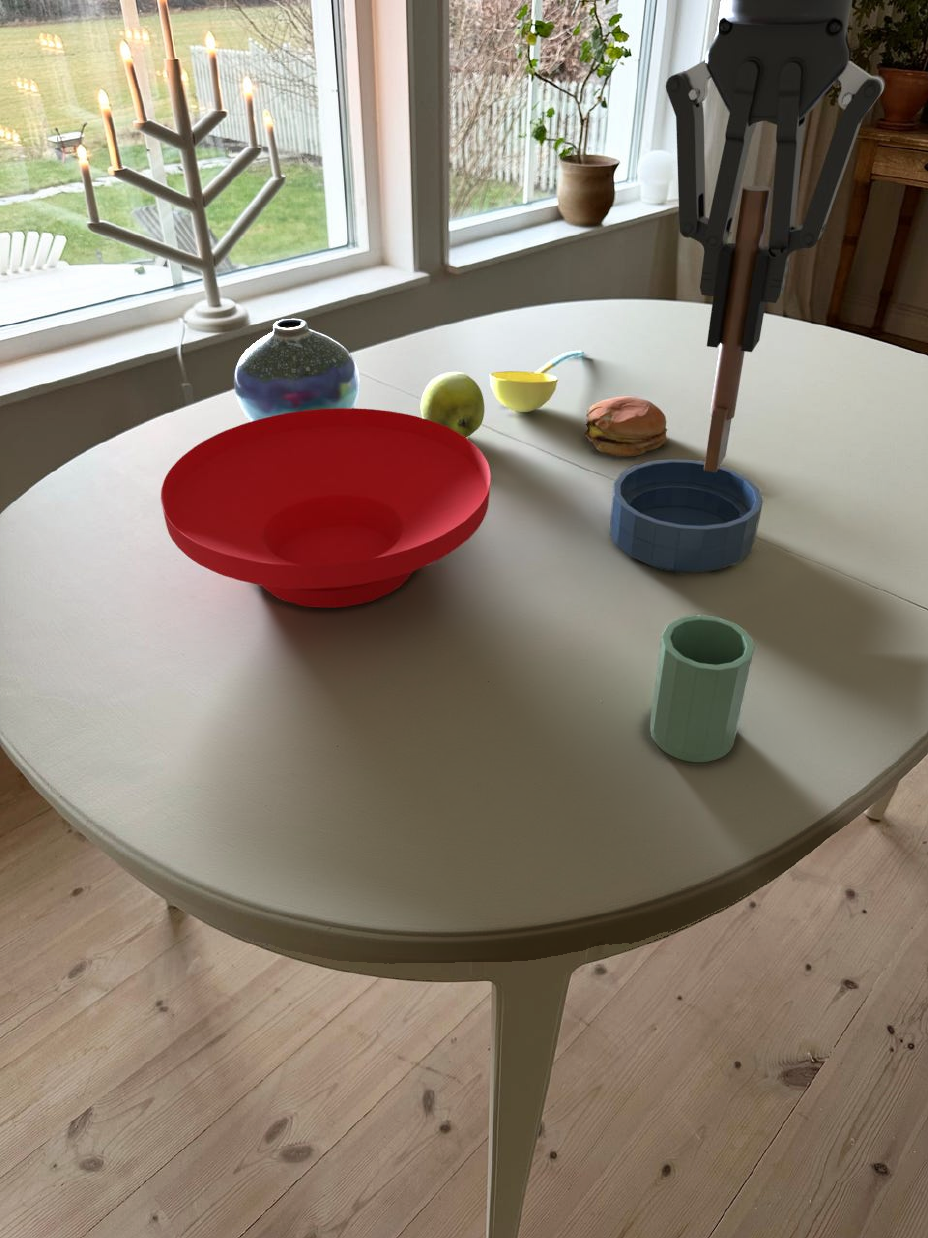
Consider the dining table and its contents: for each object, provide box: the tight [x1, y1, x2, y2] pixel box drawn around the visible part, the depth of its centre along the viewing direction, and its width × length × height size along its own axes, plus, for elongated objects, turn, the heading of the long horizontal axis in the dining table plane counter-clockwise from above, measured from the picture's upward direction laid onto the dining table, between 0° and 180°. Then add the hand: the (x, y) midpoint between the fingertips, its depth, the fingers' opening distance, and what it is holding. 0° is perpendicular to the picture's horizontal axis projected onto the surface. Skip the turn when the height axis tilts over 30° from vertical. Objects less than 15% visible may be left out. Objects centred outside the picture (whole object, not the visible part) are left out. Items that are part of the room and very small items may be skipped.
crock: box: [649, 614, 756, 763], centre depth 69 cm, size 6×6×9 cm
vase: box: [233, 318, 360, 422], centre depth 114 cm, size 15×15×13 cm
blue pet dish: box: [609, 458, 764, 573], centre depth 93 cm, size 14×14×6 cm
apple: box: [420, 371, 485, 438], centre depth 113 cm, size 8×9×8 cm
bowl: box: [160, 407, 492, 608], centre depth 89 cm, size 30×30×10 cm
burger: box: [583, 395, 668, 458], centre depth 112 cm, size 10×9×5 cm
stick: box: [704, 185, 772, 473], centre depth 67 cm, size 2×3×20 cm, turn 154°
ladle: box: [489, 350, 585, 413], centre depth 127 cm, size 9×26×6 cm, turn 154°
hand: (733, 342), depth 67 cm, fingers closed on stick, 2 cm apart
